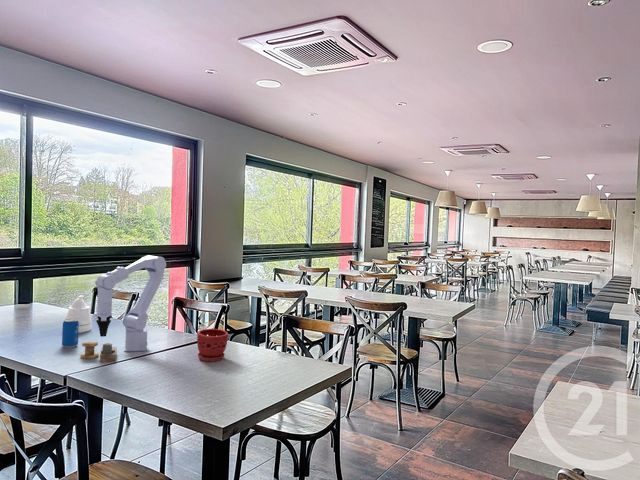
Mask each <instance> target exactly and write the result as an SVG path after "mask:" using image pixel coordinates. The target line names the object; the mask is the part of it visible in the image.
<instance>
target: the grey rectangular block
mask: <svg viewBox="0 0 640 480" xmlns="http://www.w3.org/2000/svg"><path fill="white" fill-rule="evenodd" d="M102 347H103V353H102V354H111V353H112V347H113V343H109V342H106V343H104V344H102Z"/></svg>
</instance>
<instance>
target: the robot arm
mask: <svg viewBox="0 0 640 480" xmlns="http://www.w3.org/2000/svg"><path fill="white" fill-rule="evenodd" d="M166 267H167V262H166V259H165V258H164V257H163V256H155V255H151V254H147V255H145V256H142V257H141V258H140V259H138V260H137V261H135V262H133V263H130V264H129V265H128V266H126V267H124V266H117V267H116V268H115V269H114V270H112V271H107V272H106V274H100V275H99V276H98V277H96V281H95V282H94V283H95V286H96V288H97V305H96V312H94V313H93V316H96V317H97V319H96V320H95V321H96V323H97V325H98V330H99V336H100V337H102V338H103V337H106V336H107V334H108V329H109V325H110V324H111V322H112V320H111V318H112V315H113V312H112V310H113V308H112V307H113V289H114V288H115V286H116V285H117V284H119V283H120V282H123V281H125V280H127V279H128V278H129V275H131V274H133V273H135V272H138V271H140V270H142V269H145V270H146V271H147V273H148V274H149V278H148V281H147V282H146V284H145V287H144V288H143V290H142V293H141V295H140V296H139V297H138V298H139V299H138V301H137V302H136V304H135V307H133V308H132V309H130V310H129V311H128V313H127V314H126V315H125V316H123V319H122V325H123V326H124V328H125V340H124V346H123V352H144V351H146V352H147V350H148V349H147V347H148V329H145V328H146V326H147V321H148V318H149V315H148V310H149V307H150V306H151V303H152V302H153V299H154V297H155V296H156V293H157V291H158V289H159V288H160V285H161V283H162V281H163V280H164V273H165V270H166Z"/></svg>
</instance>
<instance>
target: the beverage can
mask: <svg viewBox="0 0 640 480" xmlns="http://www.w3.org/2000/svg"><path fill="white" fill-rule="evenodd" d="M78 330H79V322H78V319H63V322H62V330H61V331H62V334H61V335H62V336H61V338H62V339H61V345H62V347H63V348H67V349H68V348H76V346H77V345H79V333H78Z"/></svg>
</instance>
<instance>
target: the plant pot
mask: <svg viewBox="0 0 640 480" xmlns="http://www.w3.org/2000/svg"><path fill="white" fill-rule="evenodd" d="M196 336H197V337H196V341H197V342H196V344H197V349H198V353H197V358H198V359H200V360H202V361H205V362H217V361H220V360H223V359H224V358H225V354H226V353H224V352H225V351H226V347H227V345H228V340H229V339H228V338H229V333H228V332H227V331H226V330H224V329H217V328H205V329H201V330H198V332H197V335H196Z"/></svg>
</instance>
